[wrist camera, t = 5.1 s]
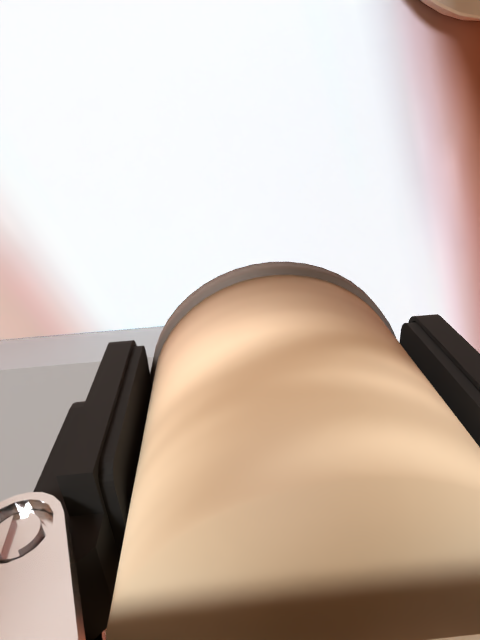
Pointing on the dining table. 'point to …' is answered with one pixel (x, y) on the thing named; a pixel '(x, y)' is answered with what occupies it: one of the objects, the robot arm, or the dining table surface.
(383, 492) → the maple peg
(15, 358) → the grey block with hole
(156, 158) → the dining table surface
